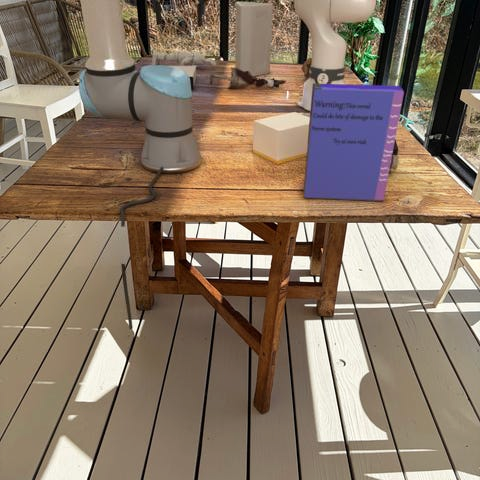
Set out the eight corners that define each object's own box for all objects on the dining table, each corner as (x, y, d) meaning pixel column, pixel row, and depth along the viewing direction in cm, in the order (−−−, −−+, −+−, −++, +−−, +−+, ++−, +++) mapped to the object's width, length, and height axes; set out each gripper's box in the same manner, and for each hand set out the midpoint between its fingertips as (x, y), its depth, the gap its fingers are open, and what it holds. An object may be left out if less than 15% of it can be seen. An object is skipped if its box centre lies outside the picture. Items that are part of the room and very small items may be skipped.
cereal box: (379, 191, 109) (398, 84, 97) (383, 201, 105) (404, 90, 93) (303, 188, 110) (312, 82, 98) (304, 197, 106) (314, 88, 94)
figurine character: (396, 183, 117) (389, 155, 129) (402, 156, 112) (395, 129, 124) (368, 182, 118) (364, 154, 129) (373, 154, 113) (368, 127, 125)
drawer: (316, 133, 142) (318, 110, 138) (338, 142, 136) (341, 118, 132) (266, 146, 132) (267, 121, 129) (288, 156, 126) (290, 130, 122)
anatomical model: (311, 84, 215) (310, 84, 201) (297, 70, 214) (296, 70, 200) (331, 62, 211) (332, 61, 197) (317, 48, 210) (317, 46, 196)
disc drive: (148, 89, 187) (147, 76, 185) (156, 76, 207) (155, 64, 204) (193, 90, 188) (193, 77, 185) (196, 77, 207) (196, 65, 204)
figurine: (210, 87, 179) (288, 95, 182) (212, 65, 176) (291, 73, 180) (208, 84, 201) (278, 91, 205) (210, 64, 198) (280, 71, 202)
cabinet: (292, 142, 138) (294, 111, 134) (317, 152, 131) (320, 121, 127) (252, 152, 131) (253, 120, 126) (277, 163, 124) (278, 130, 119)
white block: (273, 76, 210) (276, 6, 196) (239, 77, 209) (240, 6, 194) (266, 67, 226) (268, 2, 212) (235, 67, 225) (235, 1, 210)
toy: (171, 74, 211) (170, 58, 208) (148, 64, 229) (146, 49, 225) (218, 68, 223) (218, 53, 219) (192, 59, 240) (192, 44, 237)
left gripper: (220, -53, 140) (220, 25, 151) (141, -54, 145) (147, 22, 156) (213, -54, 134) (214, 28, 145) (130, -55, 139) (137, 25, 150)
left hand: (179, 25), depth 150 cm, fingers open, 13 cm apart
